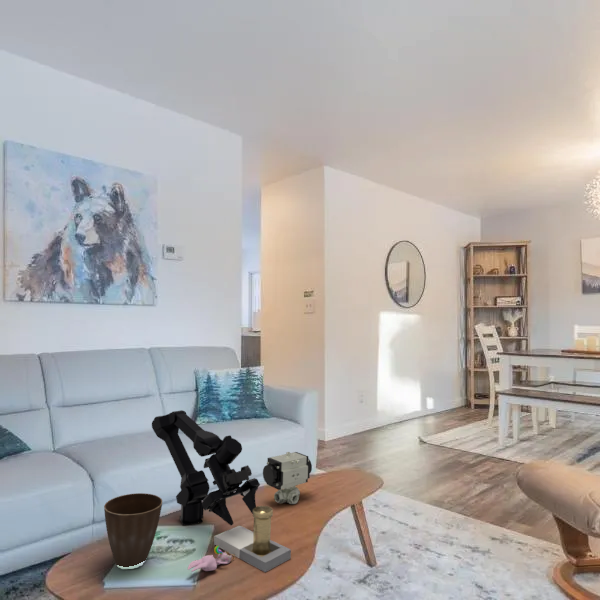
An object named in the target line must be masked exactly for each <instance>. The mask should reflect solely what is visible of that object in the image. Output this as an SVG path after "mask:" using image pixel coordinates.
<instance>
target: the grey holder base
mask: <svg viewBox="0 0 600 600" xmlns="http://www.w3.org/2000/svg"><path fill="white" fill-rule="evenodd" d="M253 532H254V530H253V531H252V530H250V529H248V528H246V527H244V526H242V525H237V526H236V527H232V528H229V529H227V530H225V531H222V532H221V533H218V534H216V535H214V536H213V545H214V546H215V545H216V546H219V548H218V549H220V550H223V551H224V552H225V551H226V552H228V553H229V554H230V555H231V554H233V555H235V558H237V559H239V560H241V561H243V562H245V563H247V564H249V565H250V566H253V567H254V568H256V569H258V570H260V571H262V572H263V573H267V572H268V571H270V570H272V569H273V568H276V567H278V566H279V565H281V564H283V563H285V562H287V561H289V560H291V557H292V554H291V551H292V549H291V548H289V547H287V546H284V545H282V544H280V543H278V542H276V541H274V540H271V539H270V549H271V553H269V554H267V555H265V556H263V557H260V556H258V555H256V554H254V553H253V552H251V551H252V549H253ZM216 546H215V547H216Z"/></svg>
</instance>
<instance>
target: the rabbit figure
mask: <svg viewBox="0 0 600 600" xmlns="http://www.w3.org/2000/svg"><path fill="white" fill-rule="evenodd" d="M213 553H214V554H216V555H217V557H214V555H213V554H209V555H204V556H202V557H201V558H200V559H196V560H192V561H191V562H190V563H189V564H188V567H187V570H188V571H189V570H190V569H191V572H195V571H197V570H199V569H201V570H202V571H205V572H212V571H215V570H217V567H218V566H219V565H228V564H230V563H231V561H232V559H233V561H234V560H236V556H235V555H233V554H230V553H228V552H227V551H225V550H224V552H223V551H222V549H220V548H219V546H214V548H213ZM229 554H230V555H229Z"/></svg>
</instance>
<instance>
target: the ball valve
mask: <svg viewBox="0 0 600 600" xmlns="http://www.w3.org/2000/svg"><path fill="white" fill-rule="evenodd" d="M312 470H313V465H312V462H311V460H310V458H309V456H308V455H306V454H303V453H300V452H298V451H293V452H290V451H287V452H285V453H283V454H281V455H275V456H271V457H267V460H266V465H265V466H264V467H263V469H262V478H263V480H264V482H265V484H266V485H267V486H270V487H272V488H274V489H275V490H277V491H276V492H274V495H273V497H274V501H275V502H276V504H284V503H287V504H289V505H295V504H297V503H298V502H299V499H300V495H301V494H300V493H301V492H300V489H299V488H298V487H297V486H298V485H302V484H305V483H309V481H308V480H309V479H310V474H311V473H312Z"/></svg>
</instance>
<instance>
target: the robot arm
mask: <svg viewBox="0 0 600 600" xmlns="http://www.w3.org/2000/svg"><path fill="white" fill-rule="evenodd" d="M151 428H152V430H153V432H154V433H155V435H156V438H159V439H160V440H162V441H163V442H164V443H165V445H166V447H167V450H168V452H169V454H170V456H171V457H172V460H173V463H174V465H175V466H176V469H177V471H178V473H179V475H180V477H181V479H180V485H179V488H180V491H179V492H178V493H177V495H176V496H175V499H176V503H177V504H178V505H180V515H179V520H180V522H181V526H189V525H196V524H202V523H203V521H204V520H203V518H204V512H205V511H208V512H209V513H210V512H212V513H213V514H215V515H216V516H218V517H219V518H221V519H222V520H223V521H224V522H225V523H227V524H228V525H229V526H233V525H235V524H234V520H233V518H232V515H231V514H230V511H229V509H228V507H227V499H228V498H232V497H235V496H237V495H240V496H242V498H241V499H242V501H243V503H244V505H246V507H247V508H248V510H249V511H250V513H251V514H252V515H253V508H255V507H257V504H256V503H257V502H256V493H257V491H258V489H259V487H260V486H261V484H260V482H259V479H258V478H255V477H253V478H250V477H251V476H252V475H253V474H252V469H251V468H250V466H249V465H245V466H241V467H240V470H239V471H236V469H235V468H231V467H230V464H232V463H233V461H235V459H237V457H238V456H239V455H240V454H241V453H242V451H243V446H242V444H241V442H240V441H239V440H238V439H236V438H233V437H232V435H226V436H224V437H223V439H222V438H221V437H220V436H219V435H218V434H216V433H214V432H212V431H207V430H205V429H203V427H201V426H200V425H199V424H198V423H197V422H195V420H193V419H192V418H191V417H190V416H188V414H187V412H186V411H185V410H175V411H172V412H169V413H167V414H165V415H158V416H155V417H154V419H153V420H152V422H151ZM179 430H180V431H181V432H182V434H185V436H186V437H187V438H188V439H190V441H191V442H192V446H193V449H194V451H195V452H196V453H197V454H198V456H200V458H201V457H202V458H203V457H207V456H210V457H207V458H205V460H204V463H203V469H207V468H208V469H209V471H210V473H211V475H212V477H213V481H212V484H213V486H216V487H217V488H218V489H217V490H213V491H210V484H209V479H208V478H207V476H206V474H205V471H204V470H197V469H196V468H195V466H194V464H193V462H192V460H191V458H190V455H189V454H188V451H187V449H186V447H185V445H184V444H183V441H182V439H181V438H180V435H179V432H180V431H179ZM244 481H245V482H244ZM243 482H244V483H243Z"/></svg>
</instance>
